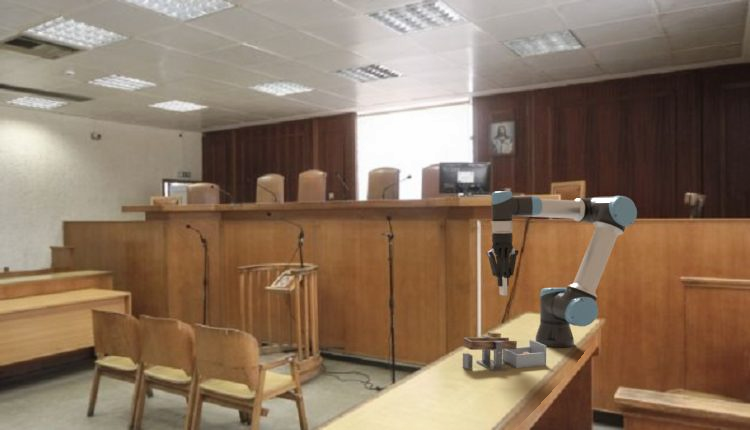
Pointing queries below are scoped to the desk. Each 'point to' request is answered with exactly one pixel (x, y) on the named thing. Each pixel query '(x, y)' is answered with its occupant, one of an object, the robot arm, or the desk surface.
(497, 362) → the fulcrum
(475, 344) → the lever
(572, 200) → the robot arm
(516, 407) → the desk surface
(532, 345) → the bin
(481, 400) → the desk surface
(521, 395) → the desk surface
